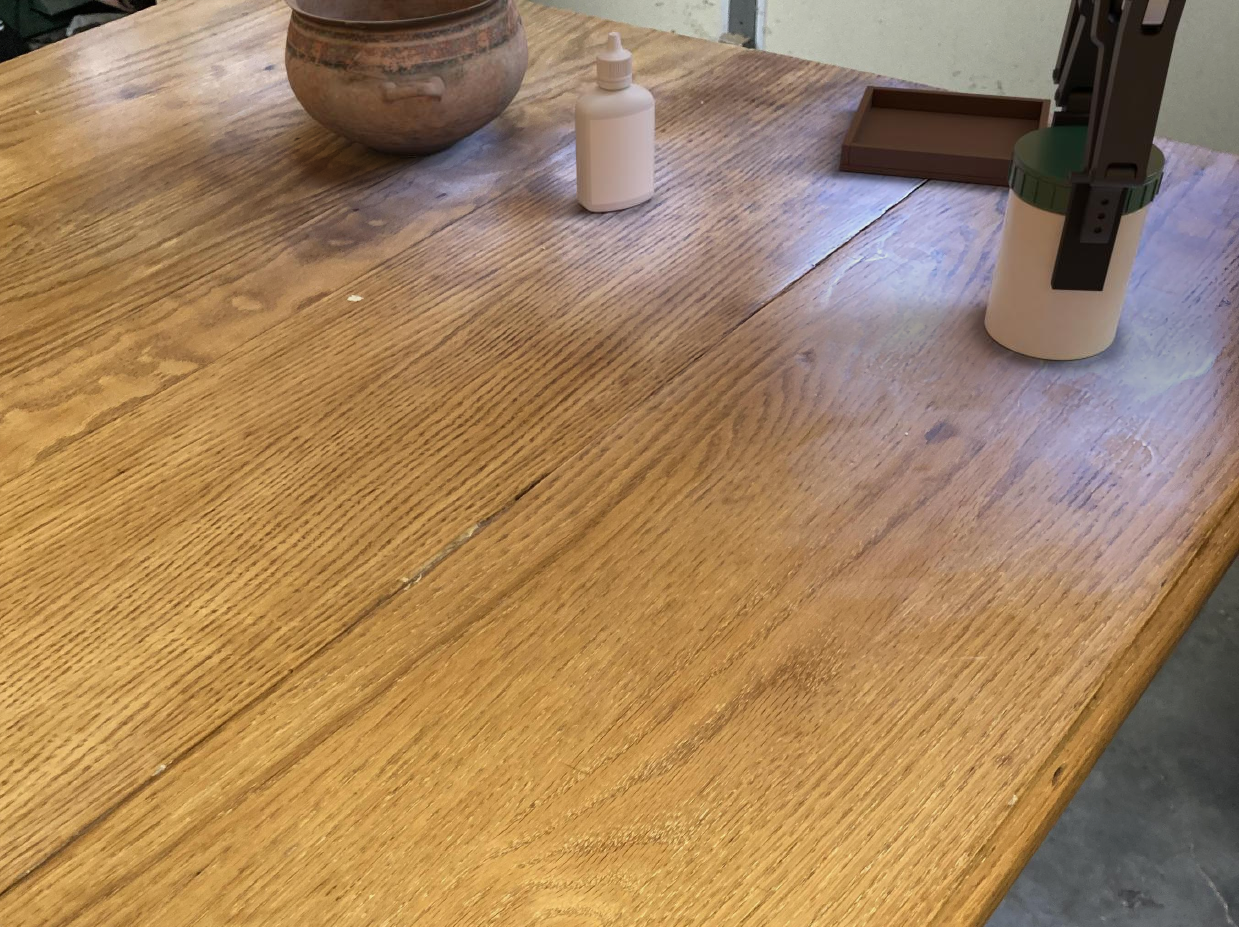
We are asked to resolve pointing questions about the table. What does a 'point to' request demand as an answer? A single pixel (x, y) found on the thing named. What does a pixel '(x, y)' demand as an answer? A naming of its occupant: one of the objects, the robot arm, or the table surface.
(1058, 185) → the jar lid
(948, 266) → the table surface
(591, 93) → the eye dropper bottle
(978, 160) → the tray
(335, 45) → the cooking pot
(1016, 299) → the jam jar
